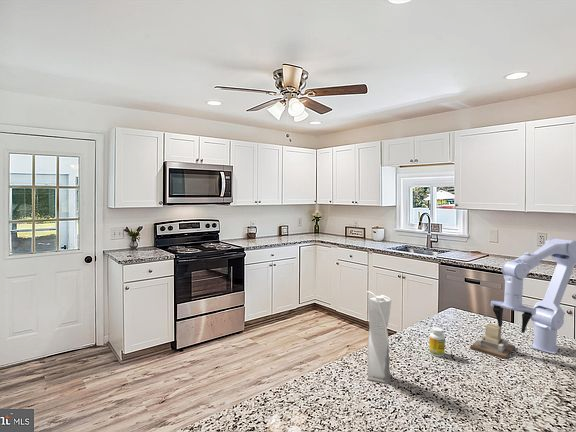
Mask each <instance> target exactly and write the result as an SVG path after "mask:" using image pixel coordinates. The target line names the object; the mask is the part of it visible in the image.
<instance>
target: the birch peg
mask: <svg viewBox="0 0 576 432" xmlns="http://www.w3.org/2000/svg"><path fill="white" fill-rule="evenodd" d="M502 327H503V325H502V326H501V327H499V326H498V324H494V323H488V324H487V325H485V331H484V332H485V333H484V334H485V340H486V341H489V342H493V343H497V344H500V343H501V338H502V329H503V328H502Z"/></svg>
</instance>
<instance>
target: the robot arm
mask: <svg viewBox="0 0 576 432" xmlns="http://www.w3.org/2000/svg"><path fill="white" fill-rule="evenodd" d="M548 257H551V258H552V260H553V261H555V262H556V266H555V268H554V271H553V274H552V277H551V279H550V282H549V284H548V286H547V289H546V292H545V295H544V298H543V299H542V300H539V301H537V302H535V304H534V306H533V307H529V306H527V305H526V306H525V305H523V290H524V279H526V277H527V276H528V273H529V272H531V270H533V269H535V268H536V267H538V266H539V265H540V263H541V262H540V261H542V260H545V259H546V258H548ZM575 265H576V239H575V240H570V239H562V238H557V237H556V238H555V237H550V238H548V239H546V240H545V242H544V245H541V246H540V247H539V248H538V249H536V250H535V251H534V252H527V251H526V252H524V253H523V255H521V256H519V257H518V258H515V259H514V260H513V261H510V260H508V261H507V262H506V261H505V263H503V265H502V268H501V273H502V274H503V279H504V296H503V297H504V298H503V299H504V300H503V301H501V300H500V301H499V300H491V301H490V307H493V308H492V311H493V313H494V315H495V318H496V321H497V325H498V326H499V327H501V326H502V327H503V312H504V309H505V310H510V311H515V312H519V313H522V314H521V318H522V321H521V322H522V323H521V325H522V326H521V333H525V332H526V329H527V326H528V323H529V321H530V320H531V321H532V324H533V325H534V329H533V330H534V333H533V343H532V344H531V346H530V349H533V350H536V351H542V352H544V353H545V352H546V353H549V354H552V355H556V354H557V352H558V350H559V348H560V346H559V345H557V340H558V339H557V337H558V330H560V329H561V328H562V327H563V325H564V323H565V322H564V321H565V314H566V312H565V311H564V309H563V308H562V307H561V306H560V304H561V302H562V300H563V297H564V295H565V292H566V290H567V287H568V283H569V282H570V279H571V277H572V273H573V271H574V268H575Z"/></svg>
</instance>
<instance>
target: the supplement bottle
mask: <svg viewBox="0 0 576 432" xmlns="http://www.w3.org/2000/svg"><path fill="white" fill-rule="evenodd" d="M445 345H446V336H445V335H444V329H443V328H442V327H437V326H434V327H432V328H431V333H430V334H429V345H428V346H429V348H428V352H429V354H430V355H432V356H434V357H439V358H440V357H443V356H444V355H445Z"/></svg>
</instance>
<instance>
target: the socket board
mask: <svg viewBox="0 0 576 432" xmlns="http://www.w3.org/2000/svg"><path fill="white" fill-rule="evenodd" d="M469 347H470V350H473V351H475V352H479V353H484V354H487V355H491V356H493V357H496V358H500V359H503V360H506V358H508V356H509V355H510V354H511V353H512V352H513V350H514V349H515V347H516V345H514V344H510V343H509V339H508V338H502V337H501V343H500V344H497V343H493V342H489V341H486V340H485V333H484V334H483V335H482V336H480V337H479V338H478V339H477V340H475V342H474V343H473V344H471V345H470V346H469Z"/></svg>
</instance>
